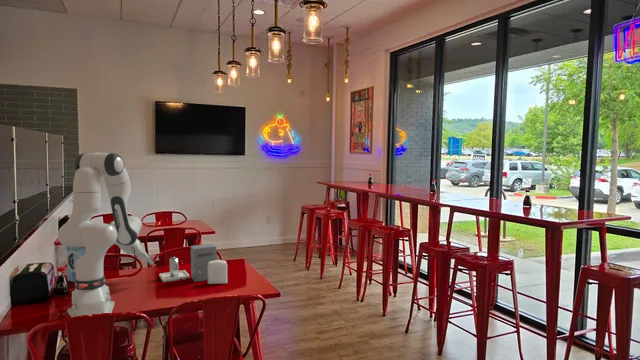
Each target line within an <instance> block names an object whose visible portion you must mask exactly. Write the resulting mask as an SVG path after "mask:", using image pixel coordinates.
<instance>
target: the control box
mask: <svg viewBox="0 0 640 360" xmlns="http://www.w3.org/2000/svg"><path fill="white" fill-rule="evenodd" d="M214 260H218V259H217V245H215V244H213V243H205V244H204V243H203V244H196V245H191V246H190V271H191V272H190V273H191V279H192V280H193V281H194V283H198V282H202V281H208V263H209V262H210V261H214ZM197 281H198V282H197Z"/></svg>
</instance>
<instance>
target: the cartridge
mask: <svg viewBox="0 0 640 360" xmlns="http://www.w3.org/2000/svg"><path fill="white" fill-rule="evenodd" d="M168 260H169V272H170V277H171V278H174V277H178V276H179V271H180V270H179V269H180V268H179V258H178V257H176V256H172V257H170V258H169V259H168Z"/></svg>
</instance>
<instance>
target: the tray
mask: <svg viewBox="0 0 640 360" xmlns="http://www.w3.org/2000/svg"><path fill="white" fill-rule="evenodd" d="M158 276H159V279H160V280H161V281H162V283H167V282H175V281H180V279H182V280H187V279H186V278H188V279H190V277H191V276H190V274H189V273H188V272H187V271H186V270H185V269H183V270H179V276H178V277H174V278H171V277H170V271H169V272H163V273H159V275H158Z"/></svg>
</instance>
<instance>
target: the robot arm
mask: <svg viewBox="0 0 640 360" xmlns="http://www.w3.org/2000/svg"><path fill="white" fill-rule="evenodd" d="M74 169H75V172H74V177H73V183H72V185H73V186H72V209H71V210H72V211H71V214H70V216H69V218H68V220H67V221H66V222H65V223H64V224H63V225H62V226H61V227H59V230H58V233H57V240H58V242H59V243H60V244H61V245H62V246H65V247H66V246H70V247H86V253H85V255H84V256H82V257H80V258H79V259H78V260H77V261H76V264H75V269H76V279H75V282H74V288H75V289H74V290H73V291H71V307H69V308H68V309H67V310H66V311H67V313H68V315H69V316H70V317H71V318H72V317H74V316H82V315H91V314H101V313H111V314H112V312H113V309H114V306H115V301H112V296H111V295H110V294H111V292H110V291H111V290H110V287H109V286H108V285H106V277H105V274H104V260H105V256H106V253H107V251H108V250H109V248H112V246H113V245H116V246H118V248H119V249H120V250H121V251H123V252H124V253H126V255H134V256H135V257H137V258H138V259H139V260H140V261H142V262H143V263H148V264H150V265H151V266H153V265H154V264H155V262H154V261H153V260H152V257H150V255H149V254H148V253H147V252H146V250H145V249H144V248H143V247H142V244H141V240H139V239H138V236H139V234H140V232H141V229H142V227H143V221H142V220H141V218H139V217H138V216H136V215H128V209H127V208H128V202H129V200H130V196H131V192H132V182H131V180H130V175H129V172H128V170H127V169H126V167H125V161H124V159H123V158H122V156H121V155H120V154H117V153H115V152H114V153H113V152H110V153H109V152H100V151H99V152H98V151H97V152H84V153H83V152H82V153H80V154H78V155H77V156H76V158H75V160H74ZM101 177H103V181H104V184H105V187H106V190H107V194H108V197H109V203H110V205H111V212H112V216H113V217H112V218H113V221H111V222H109V223H104V222H91V220H92V217H93V215H95V214H97V213H98V212H99V211H100V210H101V208H102V188H101V187H102V186H101Z"/></svg>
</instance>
